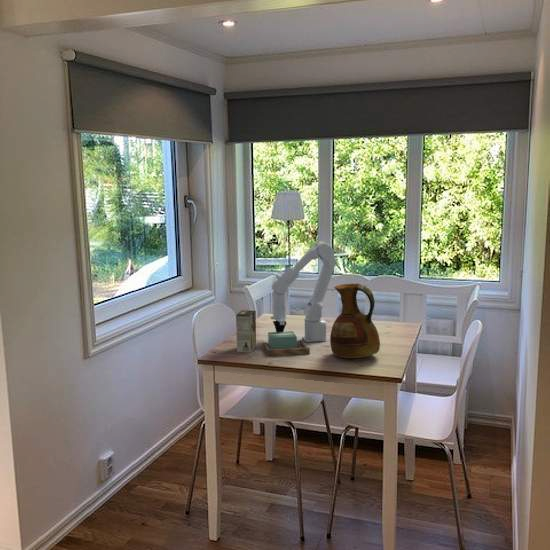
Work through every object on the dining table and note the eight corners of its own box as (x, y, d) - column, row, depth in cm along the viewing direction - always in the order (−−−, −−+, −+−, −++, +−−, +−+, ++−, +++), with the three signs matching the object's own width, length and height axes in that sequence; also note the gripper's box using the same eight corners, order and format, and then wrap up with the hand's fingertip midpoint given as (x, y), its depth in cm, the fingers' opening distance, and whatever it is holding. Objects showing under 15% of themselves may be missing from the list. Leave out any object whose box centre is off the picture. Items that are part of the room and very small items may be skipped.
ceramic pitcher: (337, 347, 254) (337, 278, 249) (384, 352, 247) (385, 281, 242) (323, 360, 236) (324, 286, 231) (374, 365, 229) (375, 289, 224)
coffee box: (242, 346, 257) (241, 309, 255) (256, 346, 256) (256, 310, 253) (236, 352, 248) (235, 314, 246) (251, 352, 247) (250, 315, 244)
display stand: (302, 344, 258) (302, 339, 258) (309, 354, 245) (309, 348, 244) (262, 346, 256) (262, 341, 255) (267, 356, 242) (267, 350, 241)
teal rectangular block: (292, 342, 264) (292, 331, 263) (296, 347, 255) (296, 336, 254) (267, 343, 262) (267, 332, 261) (271, 349, 253) (270, 337, 252)
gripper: (268, 304, 268) (268, 333, 270) (273, 311, 254) (273, 341, 256) (283, 303, 269) (283, 332, 272) (289, 310, 255) (289, 341, 257)
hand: (279, 337), depth 264 cm, fingers closed
